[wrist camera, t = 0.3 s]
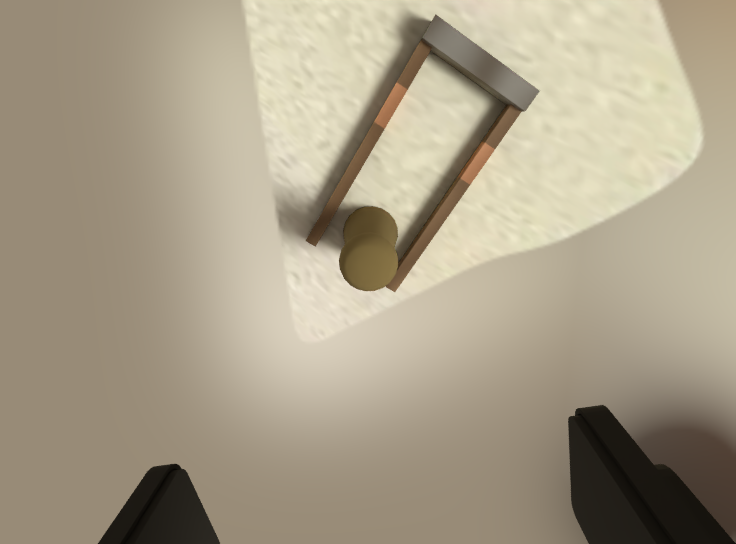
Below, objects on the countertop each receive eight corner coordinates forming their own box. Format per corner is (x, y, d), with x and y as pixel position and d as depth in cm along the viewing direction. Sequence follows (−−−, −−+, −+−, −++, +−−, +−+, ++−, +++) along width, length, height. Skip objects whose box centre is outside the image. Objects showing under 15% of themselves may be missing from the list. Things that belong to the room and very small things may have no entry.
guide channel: (308, 236, 43) (304, 243, 41) (431, 21, 35) (435, 14, 33) (394, 286, 45) (395, 295, 43) (529, 92, 37) (539, 90, 35)
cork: (341, 256, 44) (330, 298, 34) (344, 203, 42) (334, 231, 32) (394, 261, 44) (399, 304, 34) (400, 208, 42) (408, 237, 32)
